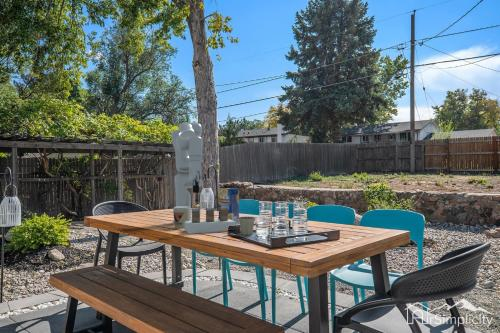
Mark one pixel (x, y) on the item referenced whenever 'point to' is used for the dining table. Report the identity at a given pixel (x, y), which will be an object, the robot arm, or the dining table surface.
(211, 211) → the plug middle
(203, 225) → the socket board
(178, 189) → the robot arm
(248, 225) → the flower pot
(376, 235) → the dining table surface
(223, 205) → the beverage box
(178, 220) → the coffee cup
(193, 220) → the plug left
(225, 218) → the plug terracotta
